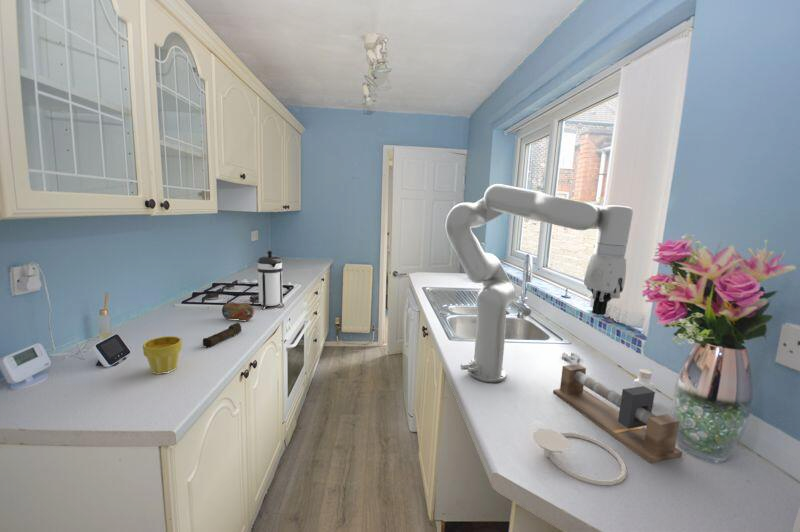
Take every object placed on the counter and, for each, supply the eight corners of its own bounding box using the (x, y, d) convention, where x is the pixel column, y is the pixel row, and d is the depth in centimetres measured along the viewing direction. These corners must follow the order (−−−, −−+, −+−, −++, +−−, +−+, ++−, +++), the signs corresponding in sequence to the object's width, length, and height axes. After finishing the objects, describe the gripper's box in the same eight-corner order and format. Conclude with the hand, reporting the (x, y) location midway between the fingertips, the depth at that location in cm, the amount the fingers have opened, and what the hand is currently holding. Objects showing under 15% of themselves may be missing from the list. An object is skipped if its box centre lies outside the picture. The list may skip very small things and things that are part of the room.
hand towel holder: (647, 471, 74) (546, 464, 74) (644, 490, 74) (543, 483, 75) (604, 422, 90) (522, 416, 91) (602, 438, 91) (520, 432, 92)
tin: (221, 319, 168) (221, 302, 167) (226, 317, 172) (225, 300, 170) (251, 322, 166) (250, 304, 165) (255, 320, 169) (254, 303, 168)
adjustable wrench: (589, 387, 118) (589, 382, 117) (567, 383, 120) (568, 378, 119) (578, 357, 141) (578, 353, 141) (560, 354, 143) (561, 350, 143)
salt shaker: (629, 398, 111) (634, 369, 109) (638, 395, 112) (643, 367, 111) (643, 404, 107) (647, 375, 106) (651, 402, 109) (656, 373, 107)
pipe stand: (650, 463, 82) (656, 427, 80) (553, 392, 112) (556, 365, 111) (681, 455, 85) (688, 421, 83) (578, 389, 115) (582, 362, 114)
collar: (628, 428, 89) (633, 395, 87) (617, 421, 92) (622, 389, 90) (649, 424, 91) (655, 391, 89) (638, 418, 94) (643, 386, 92)
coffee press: (292, 303, 199) (291, 250, 194) (274, 311, 184) (273, 253, 179) (265, 300, 204) (264, 247, 199) (246, 307, 189) (244, 251, 184)
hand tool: (210, 349, 135) (210, 337, 135) (202, 347, 137) (201, 335, 136) (246, 333, 153) (246, 322, 152) (238, 331, 154) (238, 321, 154)
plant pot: (178, 375, 114) (175, 346, 112) (140, 379, 111) (137, 349, 109) (186, 361, 123) (185, 334, 122) (152, 364, 120) (149, 337, 119)
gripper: (578, 246, 105) (569, 306, 109) (621, 254, 91) (608, 323, 95) (599, 247, 107) (589, 305, 111) (644, 255, 93) (631, 322, 97)
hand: (598, 313), depth 103 cm, fingers closed
